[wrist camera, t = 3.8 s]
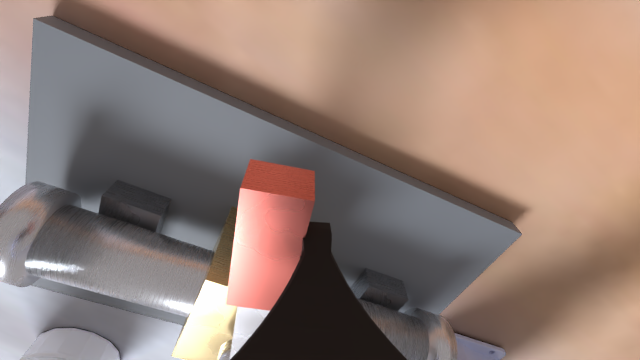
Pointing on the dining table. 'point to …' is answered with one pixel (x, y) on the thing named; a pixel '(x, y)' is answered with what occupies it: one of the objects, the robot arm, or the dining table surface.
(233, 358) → the robot arm
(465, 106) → the dining table surface
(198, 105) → the mounting board
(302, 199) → the valve lever
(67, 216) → the valve body
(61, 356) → the white cup
